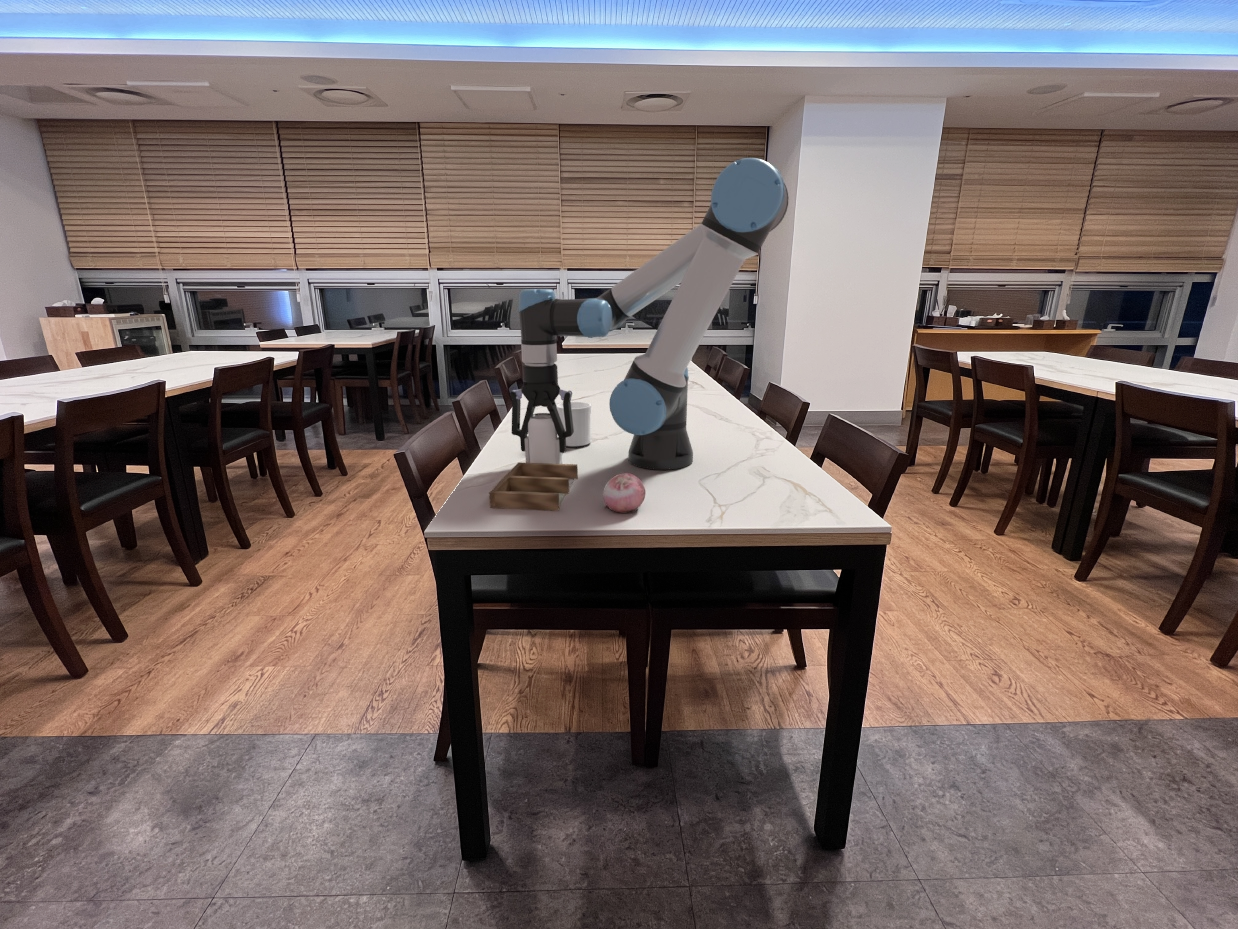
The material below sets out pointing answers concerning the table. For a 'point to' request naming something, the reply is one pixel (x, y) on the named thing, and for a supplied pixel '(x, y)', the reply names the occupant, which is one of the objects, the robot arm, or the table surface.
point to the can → (542, 439)
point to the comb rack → (534, 486)
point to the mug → (578, 424)
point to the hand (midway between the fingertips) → (544, 465)
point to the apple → (624, 493)
